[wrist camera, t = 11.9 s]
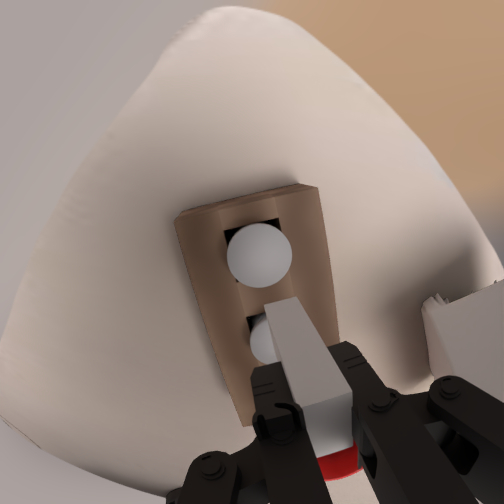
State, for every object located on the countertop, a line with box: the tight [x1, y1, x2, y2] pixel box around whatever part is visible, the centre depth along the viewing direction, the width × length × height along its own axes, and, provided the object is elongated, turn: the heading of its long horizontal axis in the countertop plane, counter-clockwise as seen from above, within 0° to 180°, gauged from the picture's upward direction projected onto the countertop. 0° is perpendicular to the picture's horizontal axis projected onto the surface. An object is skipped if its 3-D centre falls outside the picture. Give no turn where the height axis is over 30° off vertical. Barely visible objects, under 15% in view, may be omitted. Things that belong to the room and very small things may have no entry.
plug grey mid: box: [250, 312, 278, 364], centre depth 29 cm, size 5×5×7 cm
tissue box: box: [421, 279, 504, 403], centre depth 26 cm, size 20×16×25 cm
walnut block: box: [174, 184, 340, 427], centre depth 30 cm, size 12×24×6 cm, turn 13°
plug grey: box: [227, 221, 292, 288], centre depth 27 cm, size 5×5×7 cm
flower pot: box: [317, 439, 363, 481], centre depth 35 cm, size 11×11×10 cm
